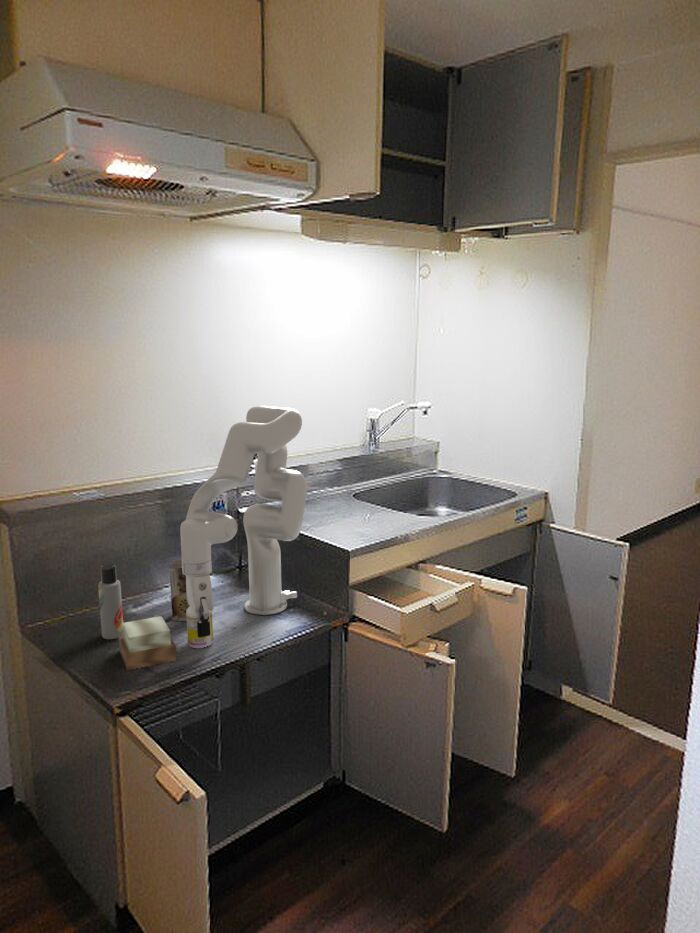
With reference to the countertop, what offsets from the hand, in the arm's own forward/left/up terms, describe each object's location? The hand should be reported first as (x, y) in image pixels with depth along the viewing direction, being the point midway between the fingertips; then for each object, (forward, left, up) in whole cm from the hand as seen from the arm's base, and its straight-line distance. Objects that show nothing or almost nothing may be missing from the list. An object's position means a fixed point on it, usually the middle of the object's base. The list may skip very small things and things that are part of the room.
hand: (199, 629), depth 191 cm
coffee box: (-2, -19, -4) cm, 20 cm away
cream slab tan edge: (+14, +1, -4) cm, 15 cm away
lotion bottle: (+20, -16, -4) cm, 26 cm away
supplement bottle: (0, 0, -4) cm, 4 cm away
